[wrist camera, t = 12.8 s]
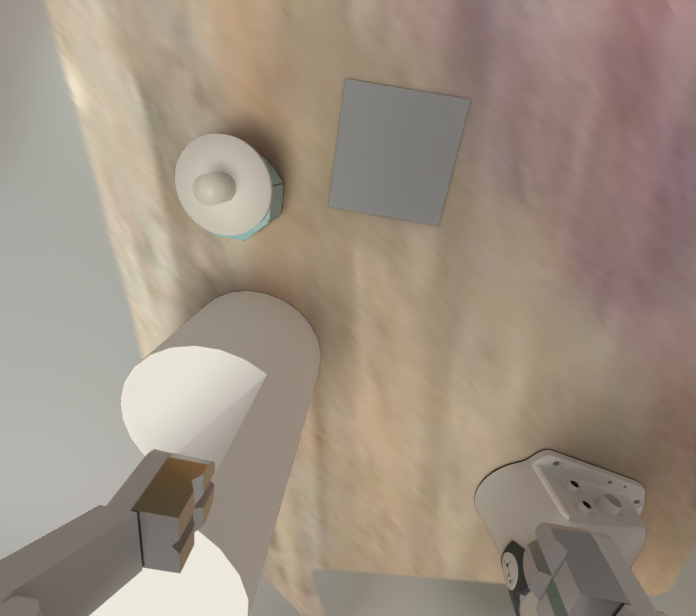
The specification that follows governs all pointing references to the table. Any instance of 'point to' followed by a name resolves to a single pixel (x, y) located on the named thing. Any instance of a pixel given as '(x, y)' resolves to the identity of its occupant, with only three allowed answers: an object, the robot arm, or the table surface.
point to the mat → (396, 151)
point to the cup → (273, 211)
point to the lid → (223, 184)
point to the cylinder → (223, 443)
